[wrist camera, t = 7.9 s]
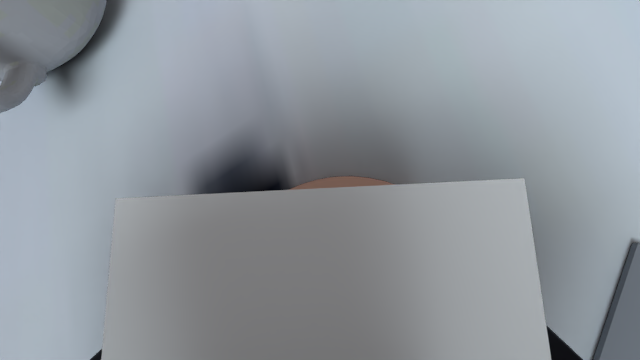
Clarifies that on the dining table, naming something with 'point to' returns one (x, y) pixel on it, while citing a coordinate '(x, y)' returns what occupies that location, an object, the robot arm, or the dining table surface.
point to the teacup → (41, 41)
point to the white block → (327, 275)
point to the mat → (623, 315)
